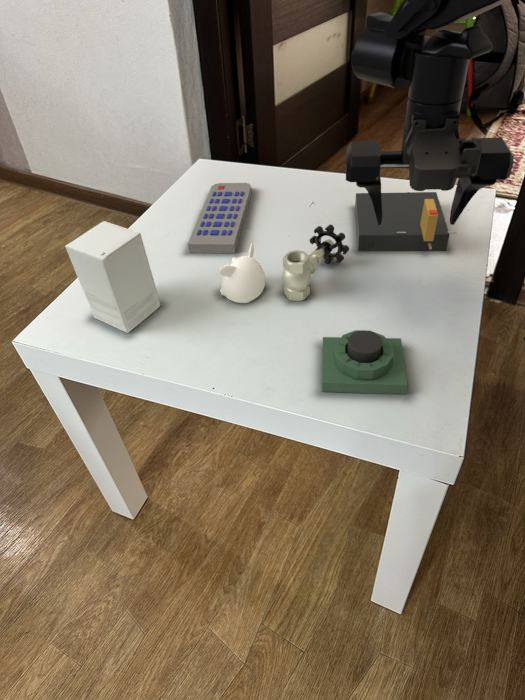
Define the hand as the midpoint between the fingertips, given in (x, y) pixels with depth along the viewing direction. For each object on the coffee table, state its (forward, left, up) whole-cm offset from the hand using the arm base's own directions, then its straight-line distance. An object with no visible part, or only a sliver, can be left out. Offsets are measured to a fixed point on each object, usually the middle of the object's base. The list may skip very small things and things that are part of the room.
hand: (415, 223), depth 65 cm
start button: (+7, +16, -8) cm, 19 cm away
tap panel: (-1, -15, -11) cm, 19 cm away
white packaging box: (+41, +5, -11) cm, 43 cm away
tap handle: (-4, -11, -8) cm, 14 cm away
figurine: (+24, 0, -12) cm, 26 cm away
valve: (+14, -3, -12) cm, 18 cm away
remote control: (+30, -21, -11) cm, 38 cm away
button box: (+7, +16, -11) cm, 21 cm away
